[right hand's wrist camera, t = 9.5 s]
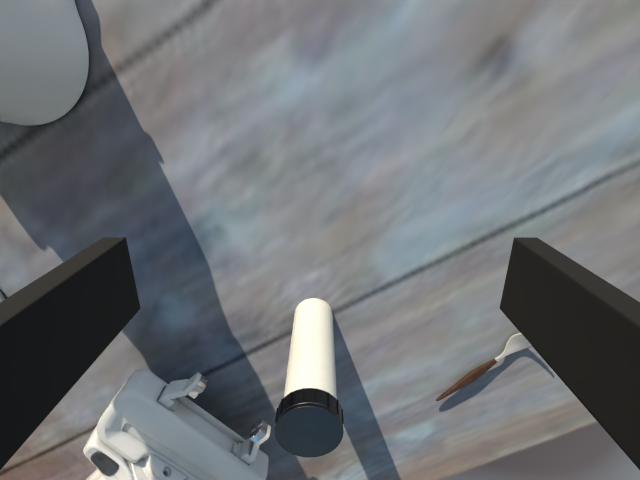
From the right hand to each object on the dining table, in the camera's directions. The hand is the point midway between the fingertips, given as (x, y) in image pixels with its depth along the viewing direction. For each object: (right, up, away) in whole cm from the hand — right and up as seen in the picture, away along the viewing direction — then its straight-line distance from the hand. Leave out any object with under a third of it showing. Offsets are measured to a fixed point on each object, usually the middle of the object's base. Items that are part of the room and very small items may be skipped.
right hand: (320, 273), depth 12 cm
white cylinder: (-1, -8, +30) cm, 31 cm away
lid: (-1, -13, +15) cm, 20 cm away
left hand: (-9, -17, +28) cm, 34 cm away
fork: (+21, -14, +32) cm, 41 cm away
